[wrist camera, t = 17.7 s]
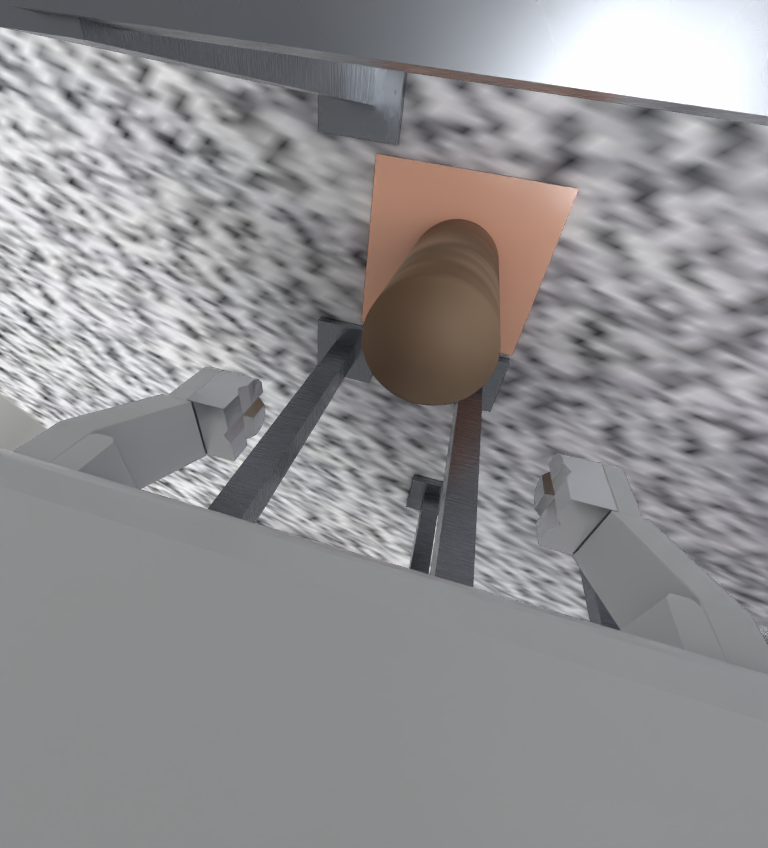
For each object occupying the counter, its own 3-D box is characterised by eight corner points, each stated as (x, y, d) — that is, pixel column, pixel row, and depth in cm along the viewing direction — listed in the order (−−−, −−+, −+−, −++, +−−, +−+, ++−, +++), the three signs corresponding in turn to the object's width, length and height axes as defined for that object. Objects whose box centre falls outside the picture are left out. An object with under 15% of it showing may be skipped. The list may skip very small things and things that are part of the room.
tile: (511, 352, 23) (512, 355, 23) (363, 319, 24) (361, 321, 24) (577, 188, 17) (578, 189, 17) (378, 153, 18) (376, 153, 18)
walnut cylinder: (512, 228, 19) (523, 295, 11) (483, 319, 22) (476, 417, 14) (418, 211, 19) (367, 263, 12) (403, 302, 22) (357, 389, 15)
